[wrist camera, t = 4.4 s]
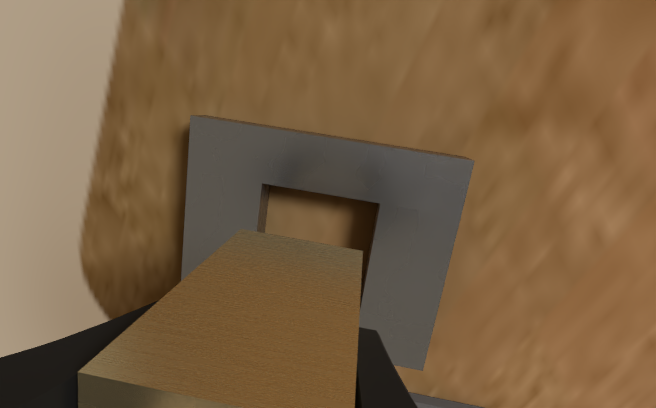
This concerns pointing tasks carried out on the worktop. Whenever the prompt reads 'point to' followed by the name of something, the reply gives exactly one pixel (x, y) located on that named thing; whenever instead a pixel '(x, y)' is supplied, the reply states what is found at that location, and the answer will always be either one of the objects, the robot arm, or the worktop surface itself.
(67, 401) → the robot arm
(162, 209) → the worktop surface
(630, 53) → the worktop surface
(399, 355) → the socket plate
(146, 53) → the worktop surface
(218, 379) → the brass peg
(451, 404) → the rubber mat
